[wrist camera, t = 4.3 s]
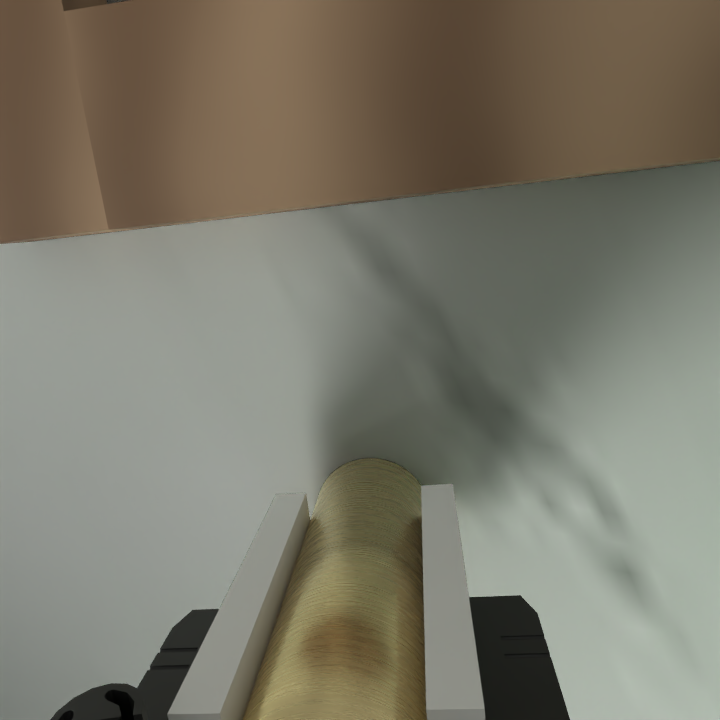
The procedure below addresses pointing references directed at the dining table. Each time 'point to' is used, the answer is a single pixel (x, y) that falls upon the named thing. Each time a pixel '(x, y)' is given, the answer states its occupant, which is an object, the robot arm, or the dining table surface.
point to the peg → (352, 606)
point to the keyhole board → (335, 102)
